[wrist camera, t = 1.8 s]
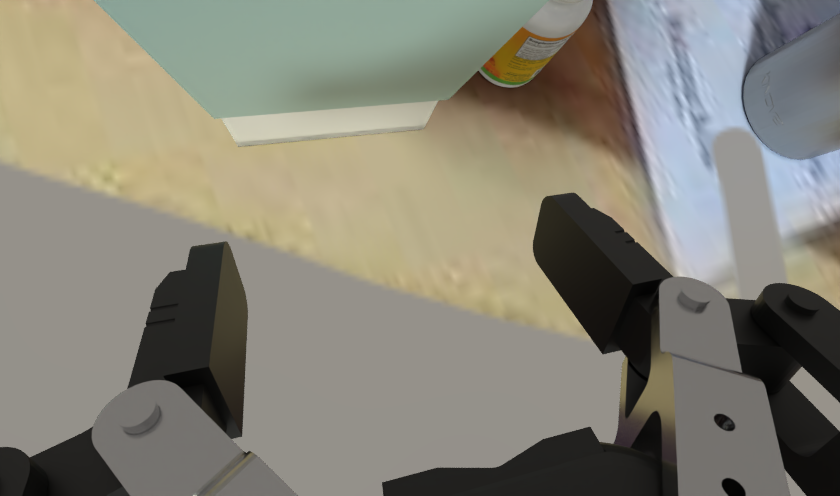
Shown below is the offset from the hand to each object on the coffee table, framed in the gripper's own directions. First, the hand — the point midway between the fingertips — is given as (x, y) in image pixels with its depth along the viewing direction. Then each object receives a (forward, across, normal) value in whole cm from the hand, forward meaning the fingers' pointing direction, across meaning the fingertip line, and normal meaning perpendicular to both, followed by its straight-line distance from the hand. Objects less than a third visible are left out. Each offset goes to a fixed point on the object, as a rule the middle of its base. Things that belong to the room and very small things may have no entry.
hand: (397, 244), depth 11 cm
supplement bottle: (+22, -13, +2) cm, 26 cm away
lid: (+9, 0, -2) cm, 10 cm away
